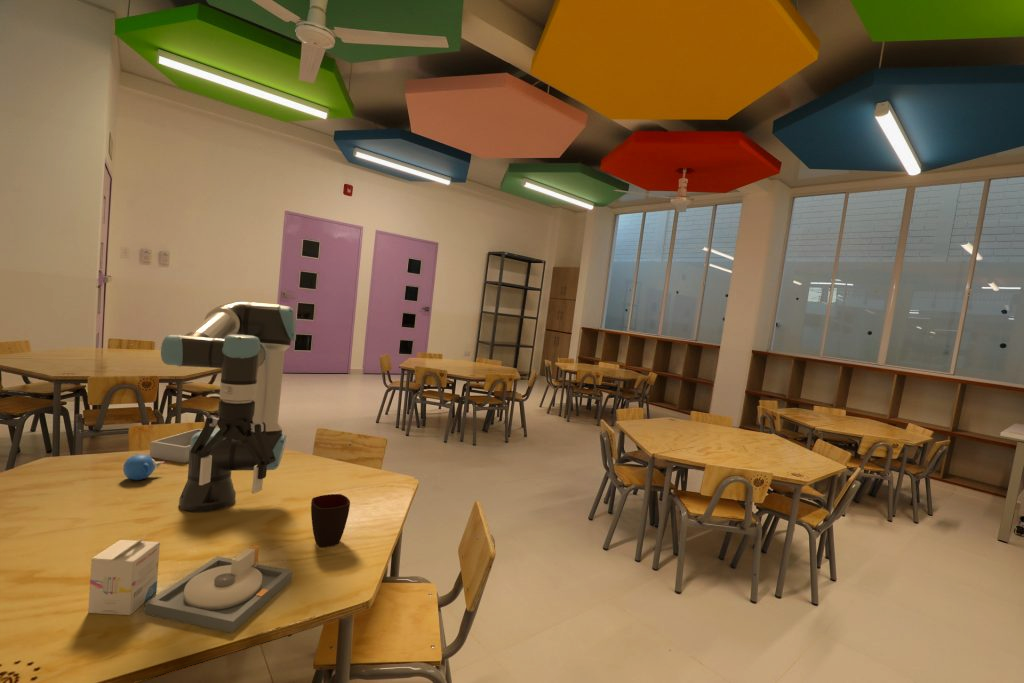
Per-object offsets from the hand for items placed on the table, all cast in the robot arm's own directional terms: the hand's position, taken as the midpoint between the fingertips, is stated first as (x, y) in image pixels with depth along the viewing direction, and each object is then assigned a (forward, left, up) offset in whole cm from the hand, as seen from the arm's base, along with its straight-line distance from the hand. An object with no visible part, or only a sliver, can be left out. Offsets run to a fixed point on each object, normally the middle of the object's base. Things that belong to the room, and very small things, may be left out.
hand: (230, 487), depth 116 cm
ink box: (-11, -16, -21) cm, 29 cm away
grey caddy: (-72, +70, -21) cm, 102 cm away
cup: (+13, +23, -21) cm, 34 cm away
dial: (+6, -7, -19) cm, 22 cm away
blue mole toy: (-64, +41, -21) cm, 79 cm away
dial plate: (+6, -8, -21) cm, 23 cm away
